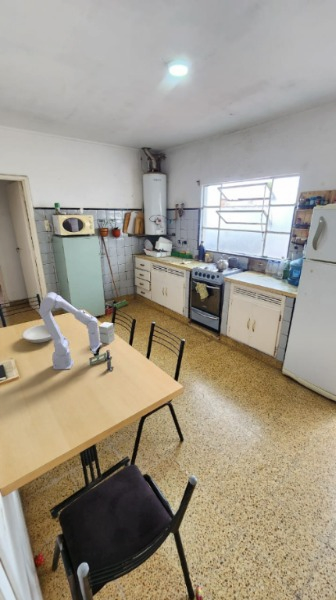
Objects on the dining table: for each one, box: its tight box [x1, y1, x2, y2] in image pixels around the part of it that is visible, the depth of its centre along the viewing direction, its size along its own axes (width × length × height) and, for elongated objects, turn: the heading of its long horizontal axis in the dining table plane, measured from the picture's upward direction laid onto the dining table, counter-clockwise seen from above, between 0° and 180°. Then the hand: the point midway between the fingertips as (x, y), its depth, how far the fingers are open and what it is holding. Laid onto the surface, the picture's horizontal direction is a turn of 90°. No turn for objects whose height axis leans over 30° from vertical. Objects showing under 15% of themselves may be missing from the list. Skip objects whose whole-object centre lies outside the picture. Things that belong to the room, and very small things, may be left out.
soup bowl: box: [21, 323, 61, 344], centre depth 175 cm, size 24×24×7 cm
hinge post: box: [104, 349, 113, 362], centre depth 152 cm, size 4×4×6 cm
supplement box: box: [98, 321, 116, 345], centre depth 171 cm, size 7×7×13 cm
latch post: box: [106, 359, 114, 372], centre depth 142 cm, size 3×4×6 cm
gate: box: [88, 352, 107, 366], centre depth 148 cm, size 10×1×4 cm, turn 128°
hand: (96, 357), depth 150 cm, fingers closed, pressing on gate
